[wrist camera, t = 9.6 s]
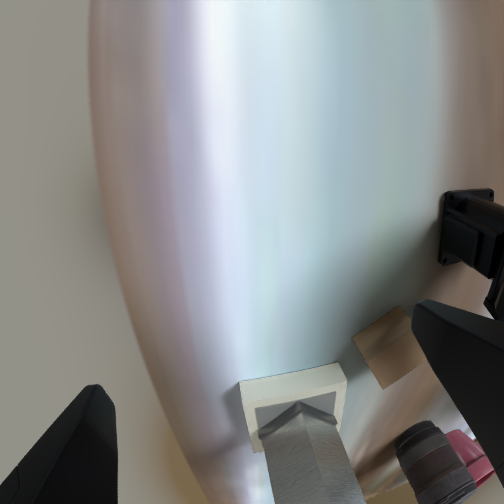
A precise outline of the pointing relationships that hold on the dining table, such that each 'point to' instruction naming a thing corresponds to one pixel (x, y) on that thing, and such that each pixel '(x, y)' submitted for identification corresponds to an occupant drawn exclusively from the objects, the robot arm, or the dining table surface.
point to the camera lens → (433, 466)
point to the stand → (292, 396)
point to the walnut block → (390, 347)
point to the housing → (308, 459)
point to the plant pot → (471, 456)
